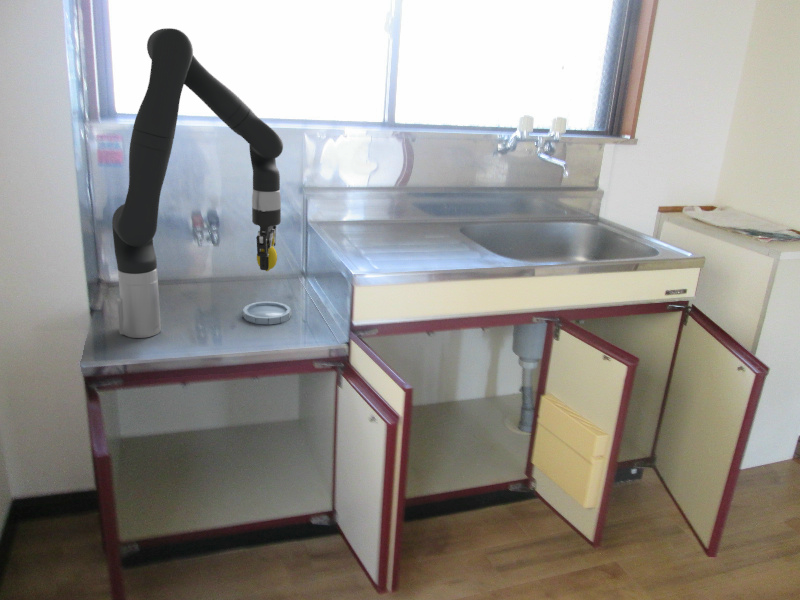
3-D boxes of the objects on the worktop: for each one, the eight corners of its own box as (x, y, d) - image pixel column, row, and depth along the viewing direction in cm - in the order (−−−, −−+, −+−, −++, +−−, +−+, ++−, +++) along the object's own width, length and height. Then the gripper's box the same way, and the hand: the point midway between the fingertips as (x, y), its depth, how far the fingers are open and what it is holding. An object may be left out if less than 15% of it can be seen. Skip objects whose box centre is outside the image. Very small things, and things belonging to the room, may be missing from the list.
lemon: (252, 271, 183) (252, 243, 181) (265, 267, 188) (265, 239, 185) (268, 275, 181) (268, 247, 178) (281, 271, 186) (281, 243, 183)
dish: (238, 322, 183) (238, 316, 182) (249, 305, 195) (249, 300, 195) (285, 325, 183) (285, 319, 182) (293, 309, 195) (294, 303, 195)
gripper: (258, 199, 185) (259, 258, 191) (246, 211, 172) (246, 273, 177) (285, 201, 185) (285, 259, 191) (275, 213, 172) (275, 275, 177)
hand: (266, 266), depth 184 cm, fingers closed on lemon, 5 cm apart
